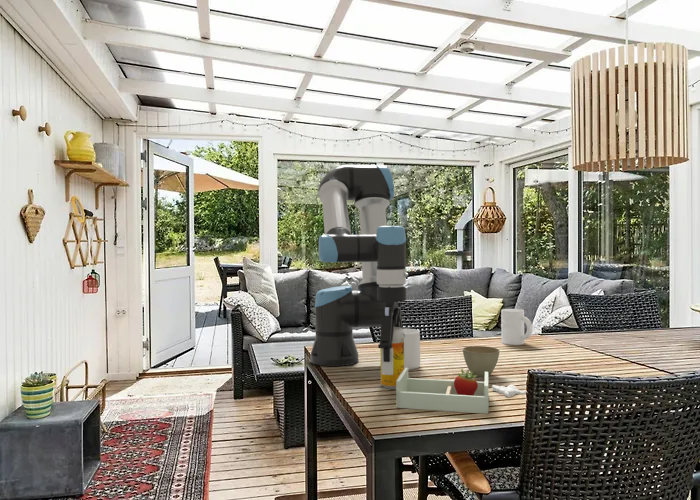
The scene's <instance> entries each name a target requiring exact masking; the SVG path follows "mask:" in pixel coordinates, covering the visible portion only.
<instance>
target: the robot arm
mask: <svg viewBox="0 0 700 500" xmlns="http://www.w3.org/2000/svg"><path fill="white" fill-rule="evenodd" d="M393 178H394V177H393V174H392V171H391V169H390V168H389V167H388V166H387V165H378V164H374V165H369V164H368V165H367V164H366V165H365V164H364V165H363V164H362V165H361V164H359V165H357V164H356V165H346V164H345V165H340V166H337V167H334V168H333V169H331V170H329V171H328V172H327V173H326V174H324V177H323V178H322V179H321V180H320V183H319V186H318V197H319V200H320V202H321V203H322V214H323V216H322V217H323V229H324V234H322V235H319V236H318V257H319V258H318V259H319V261H320V262H322V263H333V264H334V263H361V269H362V270H361V271H362V280H361V281H360V282H359V283H358V285H357V290H354V289H353V286H352V285H340V286H333V287H327V288H322V289H319V290H318V291H317V292H316V294H315V299H314V300H315V301H314V302H315V304H314V308H315V338H314V341H313V344H312V348H311V352H310V356H309V358H310V359H309V361H310V363H312V364H313V365H316V366H323V367H342V366H343V367H344V366H350V365H353V364H356V363H358V362H359V351H358V348H357V345H356V343H355V339H354V336H353V335H354V334H353V333H354V332H353V328H380V332H381V336H379V338H380V339H379V344H378V346H377V348H378V349H380V348H382V374H383V375H393V348H392V341H393V333H394V327H400V328H402V330H403V329H404V328H403V321H402V320H403V319H402V309H401V305H402V302H405V301H406V300H407V287H406V286H404V285H406V283H407V280H406V279H407V277H408V276H409V273H408V272H406V270H407V269H406V268H407V265H406V261H407V260H406V258H407V257H406V253H407V251H406V250H407V249H406V248H407V247H406V245H407V244H406V243H407V242H406V241H407V237H406V228H405V227H404V226H402V225H387V215H386V214H387V213H386V209H387V208H388V207H389V206H390V202H391V201H392V200H393V199H394V196H395V185H394V184H395V183H394V179H393ZM347 201H354V206H355V208H357V209H358V210H359V223H360V234H352V231H351V230H352V229H351V223H350V216H349V210H348V203H347ZM404 336H405V335H404Z"/></svg>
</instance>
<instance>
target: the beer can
mask: <svg viewBox="0 0 700 500" xmlns="http://www.w3.org/2000/svg"><path fill="white" fill-rule="evenodd" d="M402 329H403V327H402V328H400V327H394V333H393V341H392V348H393V375H383V374H382V348H379V349H380V350H379V351H380V384H381V385H382V387H383V388H385V389H388V390H390V389H391V390H396V381H397V379H398V378H399V376H400V375H401V373H402V372H403V370H404V332H403V330H402ZM379 333H380V334H379V335H380V336H381V331H380V332H379ZM380 336H379V337H380Z"/></svg>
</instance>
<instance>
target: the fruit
mask: <svg viewBox="0 0 700 500" xmlns="http://www.w3.org/2000/svg"><path fill="white" fill-rule="evenodd" d="M460 370H461V371H460V372H461V373H459V372H458V373H457V376H456V377H455V378H454V387H455V389H456V392H457V394H458V395H470V396H474V393H475V391H476V390H477V387H478V384H477V382H478V381H477V380H476V377H478V376H477V375H473V374H472V373H473V372H472V371H471V372H470V371H469V369H467V370H466V372H465V371H464V369H463V368H461V369H460Z"/></svg>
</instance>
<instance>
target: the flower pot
mask: <svg viewBox="0 0 700 500" xmlns="http://www.w3.org/2000/svg"><path fill="white" fill-rule="evenodd" d="M500 352H501V351H500V349H499V348H497V347H493V346H484V345H471V346H470V345H469V346H465V347H463V348H462V355H463V359H464V361H465V364H466V366H467V370H469V373H471V371H472V372H473V373H472V374H473V376H474V375H477V376H476V377H478V378H481V377H482V378H485V372H488V377H489V376H491V375H492V373H493V372H494V370H495V368H496V366H497V363H498V361H499V360H498V359H499V357H500Z"/></svg>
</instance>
